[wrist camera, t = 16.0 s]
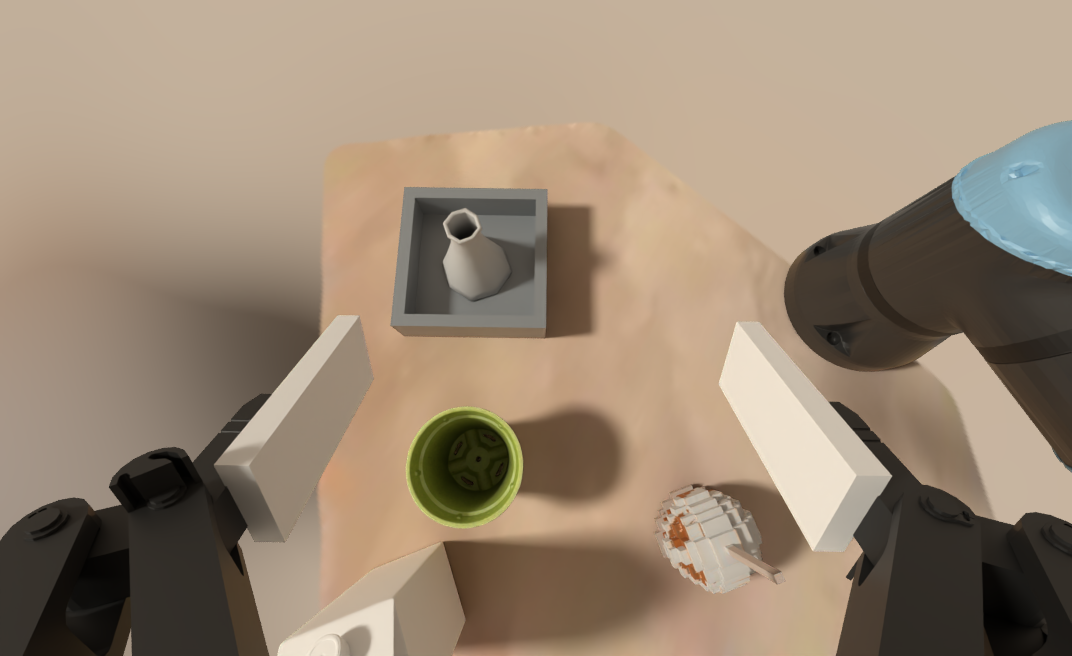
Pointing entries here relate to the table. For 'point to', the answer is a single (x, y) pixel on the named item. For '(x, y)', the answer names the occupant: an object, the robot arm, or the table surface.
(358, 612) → the milk carton
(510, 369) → the table surface
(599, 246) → the table surface
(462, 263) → the flask
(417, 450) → the plant pot
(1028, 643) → the robot arm
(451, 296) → the open box
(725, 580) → the decorative ornament
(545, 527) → the table surface
